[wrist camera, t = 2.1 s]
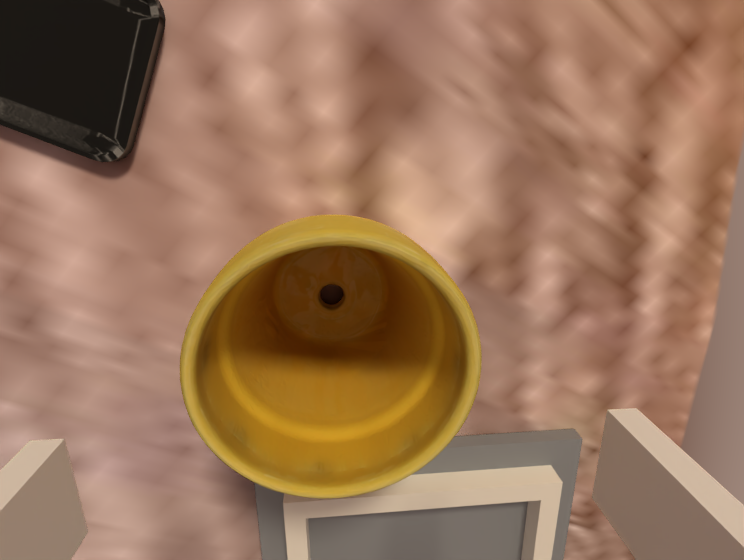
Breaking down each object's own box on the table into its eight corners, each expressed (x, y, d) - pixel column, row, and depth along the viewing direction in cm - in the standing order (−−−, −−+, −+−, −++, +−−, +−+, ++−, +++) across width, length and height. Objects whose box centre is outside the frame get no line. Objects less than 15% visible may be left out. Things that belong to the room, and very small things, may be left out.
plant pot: (421, 371, 27) (471, 496, 17) (241, 376, 26) (192, 512, 16) (431, 192, 23) (499, 229, 14) (227, 191, 23) (156, 229, 13)
